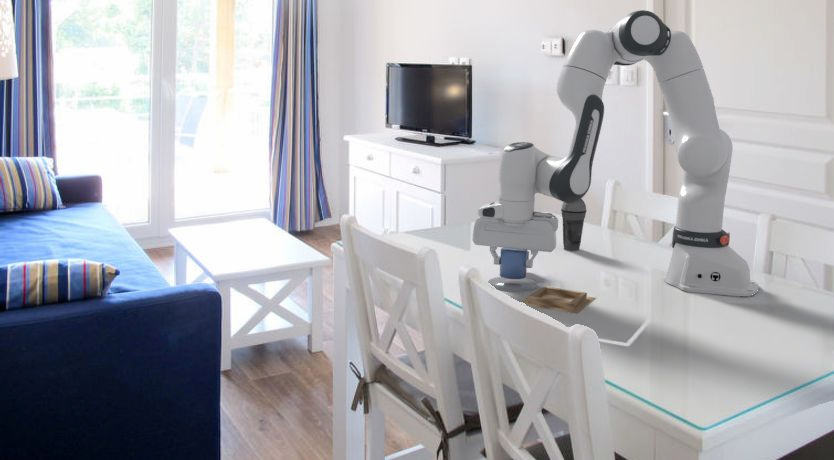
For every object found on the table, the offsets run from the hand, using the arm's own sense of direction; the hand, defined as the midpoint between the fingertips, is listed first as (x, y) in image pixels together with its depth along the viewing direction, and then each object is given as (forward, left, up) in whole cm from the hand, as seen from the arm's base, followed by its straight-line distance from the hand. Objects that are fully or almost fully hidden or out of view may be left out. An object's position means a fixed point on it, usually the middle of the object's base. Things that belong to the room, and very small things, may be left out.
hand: (512, 265), depth 216 cm
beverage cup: (0, -46, -6) cm, 46 cm away
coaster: (0, 0, -5) cm, 5 cm away
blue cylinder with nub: (0, -2, -3) cm, 3 cm away
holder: (-14, +7, -5) cm, 17 cm away
